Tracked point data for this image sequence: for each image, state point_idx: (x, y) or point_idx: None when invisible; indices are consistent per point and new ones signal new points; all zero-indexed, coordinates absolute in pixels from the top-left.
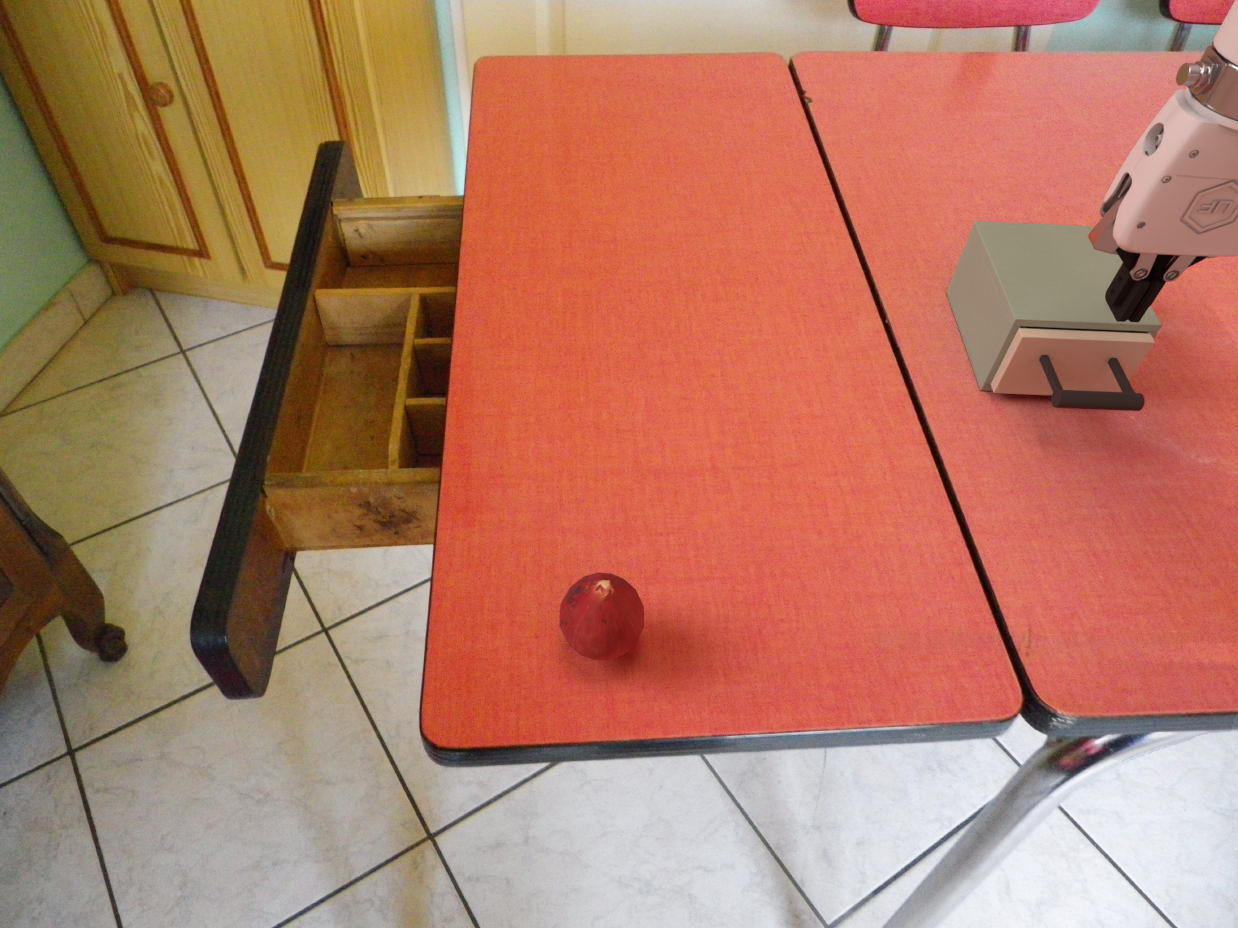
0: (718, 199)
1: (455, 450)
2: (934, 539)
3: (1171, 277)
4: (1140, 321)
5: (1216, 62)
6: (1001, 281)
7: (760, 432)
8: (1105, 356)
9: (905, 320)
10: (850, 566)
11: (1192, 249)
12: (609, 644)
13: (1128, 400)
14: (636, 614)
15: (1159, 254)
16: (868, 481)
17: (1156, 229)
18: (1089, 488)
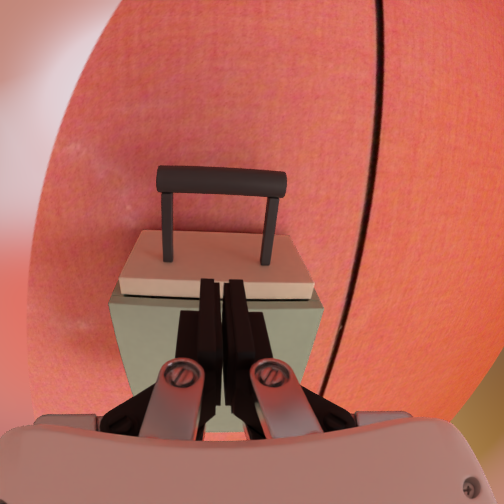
0: (387, 409)
1: None
2: (407, 60)
3: (179, 368)
4: (137, 310)
5: None
6: (304, 366)
7: (479, 200)
8: (179, 264)
9: (323, 330)
10: (465, 60)
11: (226, 472)
12: None
13: (181, 173)
14: None
15: (201, 424)
16: (437, 134)
17: (430, 502)
18: (222, 95)
